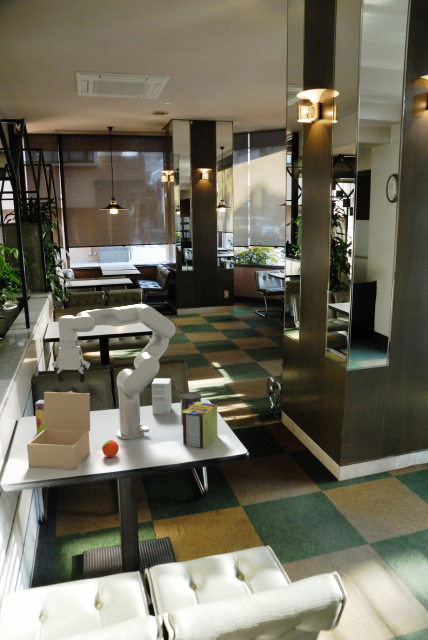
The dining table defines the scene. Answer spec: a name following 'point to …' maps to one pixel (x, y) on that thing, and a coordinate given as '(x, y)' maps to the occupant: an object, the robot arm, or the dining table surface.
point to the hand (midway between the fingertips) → (72, 381)
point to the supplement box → (161, 396)
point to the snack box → (39, 415)
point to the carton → (58, 449)
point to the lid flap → (67, 411)
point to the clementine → (110, 448)
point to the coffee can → (188, 401)
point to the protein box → (199, 424)
